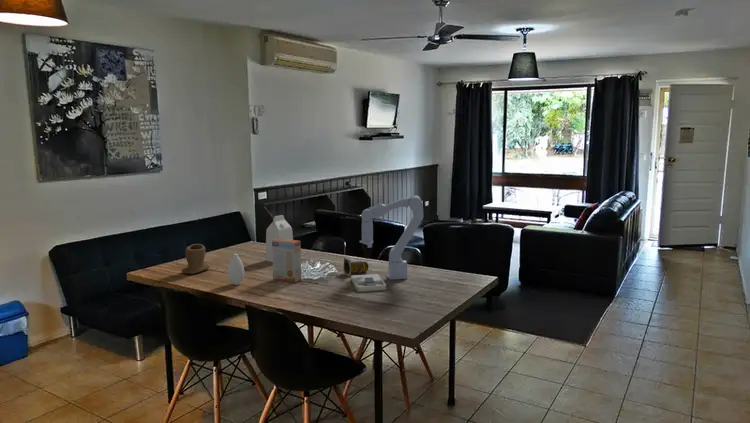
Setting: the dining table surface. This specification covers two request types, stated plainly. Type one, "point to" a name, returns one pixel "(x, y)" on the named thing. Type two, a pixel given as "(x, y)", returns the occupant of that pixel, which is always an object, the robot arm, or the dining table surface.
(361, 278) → the board
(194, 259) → the stone cup
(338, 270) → the dining table surface
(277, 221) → the milk
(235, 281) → the white vase
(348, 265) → the condiment
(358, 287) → the tray
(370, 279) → the tile rear
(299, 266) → the cracker box
